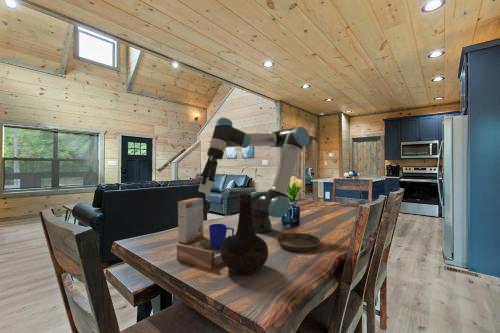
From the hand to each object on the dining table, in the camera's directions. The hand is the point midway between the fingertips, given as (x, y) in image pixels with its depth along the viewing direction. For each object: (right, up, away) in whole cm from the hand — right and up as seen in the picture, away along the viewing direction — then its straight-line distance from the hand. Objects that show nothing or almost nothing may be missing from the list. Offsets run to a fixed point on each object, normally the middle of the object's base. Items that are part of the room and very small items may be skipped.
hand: (203, 193), depth 110 cm
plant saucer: (+44, -26, +6) cm, 52 cm away
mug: (+8, -26, +4) cm, 28 cm away
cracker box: (-10, -26, +16) cm, 32 cm away
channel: (+3, -26, -9) cm, 28 cm away
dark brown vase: (+19, -26, -20) cm, 38 cm away
